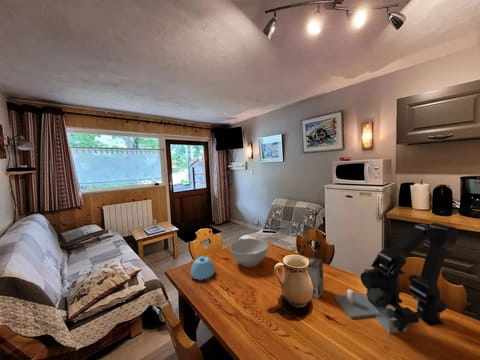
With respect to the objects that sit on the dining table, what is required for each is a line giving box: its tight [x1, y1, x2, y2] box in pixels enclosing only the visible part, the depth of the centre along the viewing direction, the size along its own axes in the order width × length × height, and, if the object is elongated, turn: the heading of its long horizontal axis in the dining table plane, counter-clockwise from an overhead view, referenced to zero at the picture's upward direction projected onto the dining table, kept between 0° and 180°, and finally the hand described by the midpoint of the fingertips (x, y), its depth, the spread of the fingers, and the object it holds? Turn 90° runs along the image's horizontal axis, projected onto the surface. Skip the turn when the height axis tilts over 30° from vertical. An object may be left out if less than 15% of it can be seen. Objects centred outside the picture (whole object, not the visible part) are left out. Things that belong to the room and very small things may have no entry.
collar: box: [374, 305, 408, 334], centre depth 78 cm, size 7×7×5 cm
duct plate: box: [334, 289, 376, 320], centre depth 89 cm, size 14×13×6 cm
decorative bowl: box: [229, 238, 269, 268], centre depth 136 cm, size 27×27×12 cm
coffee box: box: [307, 256, 325, 299], centre depth 100 cm, size 9×6×16 cm
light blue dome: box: [190, 255, 216, 281], centre depth 125 cm, size 15×15×12 cm
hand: (390, 322), depth 78 cm, fingers open, 9 cm apart
